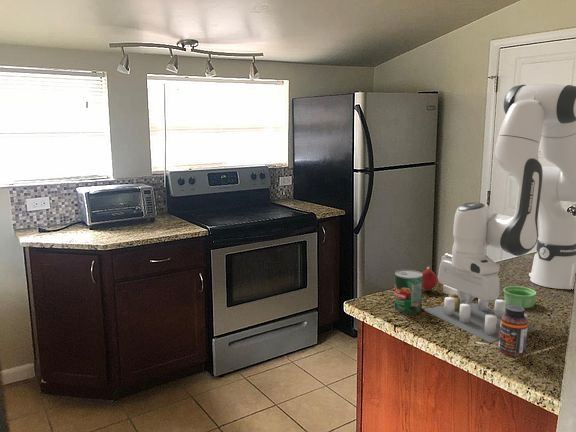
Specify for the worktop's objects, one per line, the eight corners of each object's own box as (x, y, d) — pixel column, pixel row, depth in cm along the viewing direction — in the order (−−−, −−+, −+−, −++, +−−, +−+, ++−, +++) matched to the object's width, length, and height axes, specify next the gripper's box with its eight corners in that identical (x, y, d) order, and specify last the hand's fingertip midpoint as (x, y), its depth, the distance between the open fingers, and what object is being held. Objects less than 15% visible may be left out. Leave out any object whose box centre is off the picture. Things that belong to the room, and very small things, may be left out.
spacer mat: (466, 301, 158) (467, 286, 158) (536, 330, 136) (538, 313, 135) (422, 310, 151) (423, 294, 150) (489, 343, 129) (490, 325, 128)
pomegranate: (437, 294, 165) (438, 270, 163) (418, 293, 166) (419, 269, 165) (436, 288, 170) (437, 265, 169) (417, 287, 172) (418, 264, 170)
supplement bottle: (494, 352, 124) (497, 307, 122) (504, 345, 128) (507, 301, 126) (519, 360, 120) (522, 314, 118) (529, 352, 124) (533, 307, 122)
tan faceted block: (456, 304, 155) (457, 292, 155) (466, 308, 152) (467, 296, 151) (444, 306, 153) (445, 295, 152) (454, 311, 150) (455, 299, 149)
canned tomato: (425, 308, 154) (426, 272, 152) (415, 316, 147) (417, 279, 145) (400, 302, 158) (401, 268, 156) (389, 311, 152) (390, 274, 150)
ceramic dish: (464, 288, 171) (464, 280, 170) (486, 296, 162) (486, 288, 162) (442, 292, 167) (443, 285, 166) (463, 301, 159) (464, 293, 158)
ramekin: (535, 312, 150) (536, 297, 149) (501, 307, 153) (502, 293, 153) (535, 301, 158) (536, 288, 157) (503, 298, 161) (504, 284, 161)
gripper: (434, 253, 154) (432, 297, 157) (487, 270, 136) (484, 320, 139) (450, 250, 157) (448, 294, 160) (504, 267, 139) (501, 316, 142)
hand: (465, 306), depth 149 cm, fingers closed
